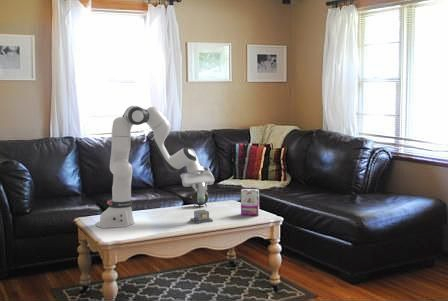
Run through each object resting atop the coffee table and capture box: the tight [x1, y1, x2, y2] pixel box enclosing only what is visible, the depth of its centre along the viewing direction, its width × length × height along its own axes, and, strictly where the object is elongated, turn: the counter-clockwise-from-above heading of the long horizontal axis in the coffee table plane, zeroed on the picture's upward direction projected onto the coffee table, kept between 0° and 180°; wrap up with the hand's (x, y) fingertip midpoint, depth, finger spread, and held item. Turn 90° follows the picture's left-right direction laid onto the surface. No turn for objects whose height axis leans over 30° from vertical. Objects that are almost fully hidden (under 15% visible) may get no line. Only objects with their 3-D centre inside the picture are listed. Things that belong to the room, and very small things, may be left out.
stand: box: [190, 209, 214, 224], centre depth 337 cm, size 11×9×6 cm
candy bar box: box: [240, 188, 260, 217], centre depth 352 cm, size 11×5×16 cm, turn 76°
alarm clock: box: [191, 190, 210, 208], centre depth 377 cm, size 11×5×16 cm, turn 84°
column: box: [196, 182, 206, 203], centre depth 335 cm, size 5×5×12 cm
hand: (201, 190), depth 335 cm, fingers closed on column, 4 cm apart
